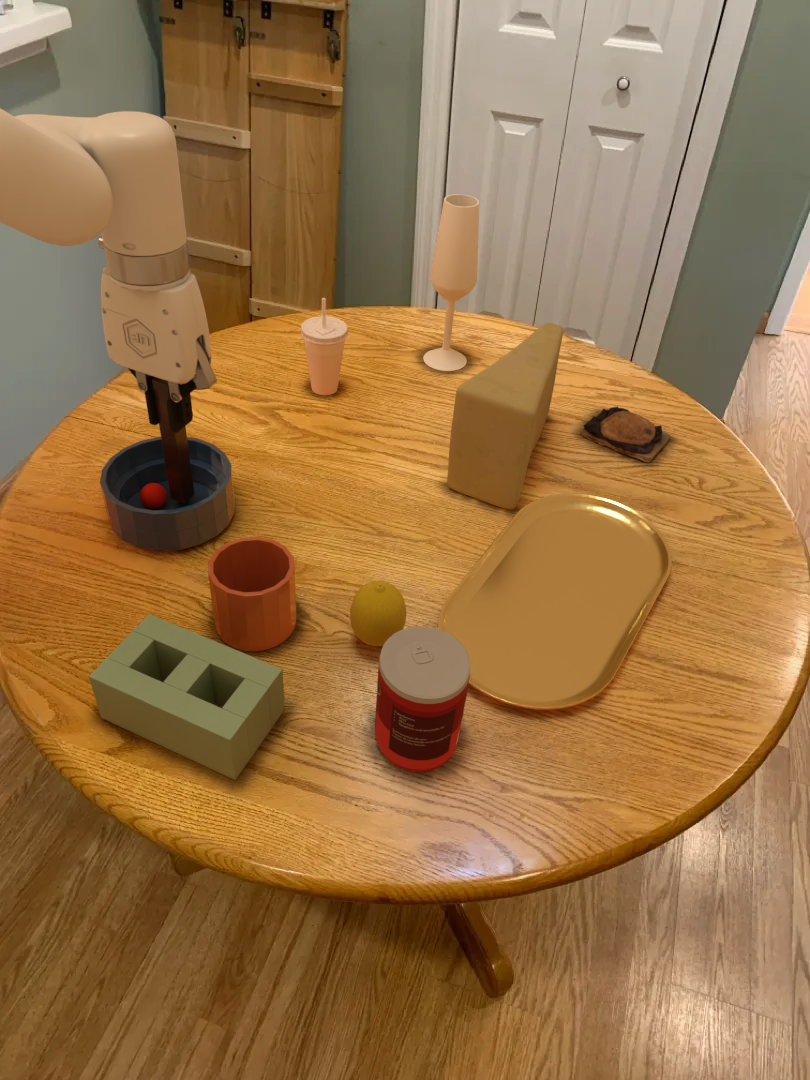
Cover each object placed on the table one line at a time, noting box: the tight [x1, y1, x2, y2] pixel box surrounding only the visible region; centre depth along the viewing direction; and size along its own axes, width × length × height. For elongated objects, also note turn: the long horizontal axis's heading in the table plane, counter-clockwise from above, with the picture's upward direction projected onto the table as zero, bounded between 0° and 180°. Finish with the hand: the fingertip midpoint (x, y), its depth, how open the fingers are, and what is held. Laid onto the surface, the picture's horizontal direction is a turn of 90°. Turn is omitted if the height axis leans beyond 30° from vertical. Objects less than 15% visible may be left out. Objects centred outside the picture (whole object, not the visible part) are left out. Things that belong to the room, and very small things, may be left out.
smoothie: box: [300, 297, 349, 396], centre depth 116 cm, size 6×6×14 cm
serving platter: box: [437, 493, 673, 711], centre depth 92 cm, size 19×35×2 cm, turn 149°
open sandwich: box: [579, 406, 671, 464], centre depth 115 cm, size 11×8×4 cm
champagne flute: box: [422, 193, 480, 372], centre depth 121 cm, size 7×7×24 cm
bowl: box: [99, 436, 236, 552], centre depth 97 cm, size 14×14×6 cm
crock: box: [207, 536, 297, 652], centre depth 84 cm, size 8×8×8 cm
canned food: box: [374, 625, 470, 773], centre depth 74 cm, size 8×8×11 cm
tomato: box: [140, 483, 167, 509], centre depth 97 cm, size 3×3×3 cm
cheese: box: [446, 322, 564, 510], centre depth 106 cm, size 22×10×15 cm, turn 152°
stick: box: [152, 377, 194, 503], centre depth 93 cm, size 2×2×16 cm
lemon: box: [349, 580, 407, 647], centre depth 83 cm, size 6×6×8 cm
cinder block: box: [88, 613, 286, 781], centre depth 76 cm, size 8×14×6 cm, turn 65°
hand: (171, 421), depth 92 cm, fingers closed on stick, 2 cm apart
